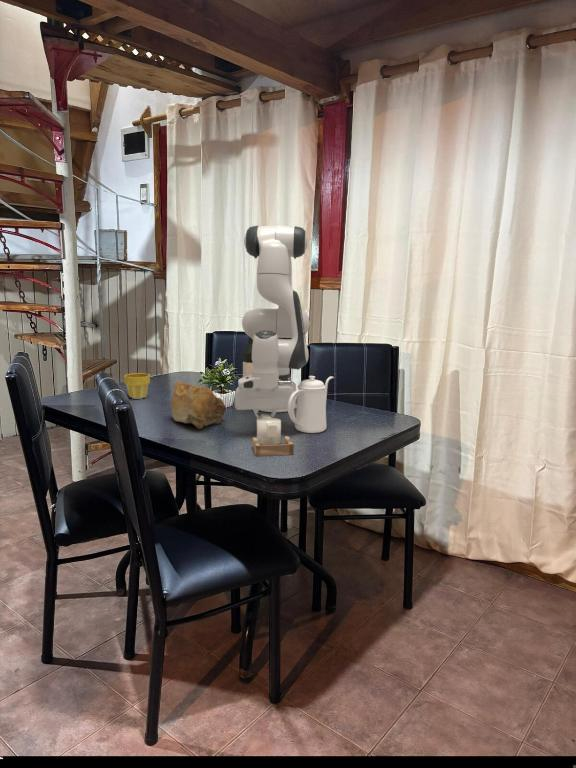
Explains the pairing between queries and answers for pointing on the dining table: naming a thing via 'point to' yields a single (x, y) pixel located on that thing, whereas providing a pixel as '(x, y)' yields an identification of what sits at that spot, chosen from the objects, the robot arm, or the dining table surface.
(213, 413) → the rough brown rock
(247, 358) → the wine bottle
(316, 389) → the coffeepot
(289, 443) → the cradle
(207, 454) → the dining table surface
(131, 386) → the plant pot
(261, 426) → the white bar with bulge
